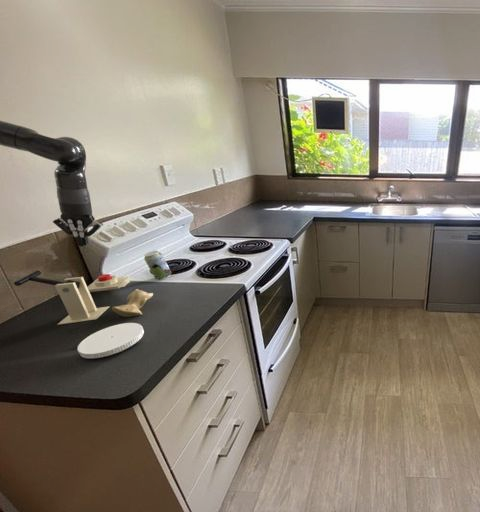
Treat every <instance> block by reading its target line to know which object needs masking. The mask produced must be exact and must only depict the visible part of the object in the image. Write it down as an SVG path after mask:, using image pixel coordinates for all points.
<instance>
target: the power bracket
mask: <svg viewBox="0 0 480 512" xmlns="http://www.w3.org/2000/svg"><path fill="white" fill-rule="evenodd" d="M68 280H70V281H75V282H80V285H79V289H78V288H77V286H76V284H75V282H72V283H63V284H57V285H54V287H55V289H56V291H57V293H58V296H59V297H60V299H61V301H62V303H63V306H64V308H65V310H66V312H67V314H68V315H67V316H66V317H64V318H63V319H62V320H60V322H59V323H57V324H56V325H57V326H58V325H65V324H72V323H79V322H88V321H93V320H94V321H95V320H97V319H99V317H101V316H102V315H103V314H104V313H105V312H106V311H107V310H108V309H109V308H110V306H102V307H101V306H100V307H97V306H96V304H95V301H94V299H93V297H92V295H91V292H89V290H88V288H87V287H88V285H87V283H86V281H85V279H84V276H77V277H68V278H67V277H66V278H65V279H64V278H63V282H67V281H68Z"/></svg>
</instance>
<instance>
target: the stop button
mask: <svg viewBox="0 0 480 512" xmlns="http://www.w3.org/2000/svg"><path fill="white" fill-rule="evenodd" d="M97 279H99V281H100V282H101V281H107V280H110V279H112V278H111V274H110V273H104V274H100V275H98V276H97Z"/></svg>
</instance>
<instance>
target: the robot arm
mask: <svg viewBox="0 0 480 512" xmlns="http://www.w3.org/2000/svg"><path fill="white" fill-rule="evenodd" d="M0 146H2V147H7V148H10V149H14V150H19V151H24V152H28V153H31V154H33V155H35V156H38V157H40V158H44V159H46V160H48V161H49V160H50V161H52V162H56V163H57V167H56V168H55V169H54V173H53V174H54V175H53V176H54V180H55V184H56V185H55V186H56V197H57V202H58V206H59V210H60V213H61V214H60V216H59V217H58V218H55V219H54V220H52V223H53V224H54V225H56V226H57V228H59V229H60V230H62V231H63V232H64V233H65V234H66V235H68V236H73V237H74V239H75V244H76V245H77V246H78V247H84V248H85V247H86V246H87V245H89V237H91V236H93V235H94V234H95V233H96V232H98V230H100V229H101V228H102V227H103V226H104V223H103V222H101V221H100V222H98V221H97V220H96V219H95V217H94V215H93V208H92V203H91V202H92V201H91V196H90V190H89V188H88V184H87V178H86V167H87V151H86V149H85V147H84V145H83V144H82V143H81V142H80V141H79V140H78V139H76V138H74V137H70V136H60V137H50V136H47V135H43V134H41V133H39V132H38V131H36V130H34V129H32V128H29V127H26V126H23V125H19V124H15V123H11V122H8V121H4V120H0ZM90 226H91V227H92V228H90V230H89V227H90Z"/></svg>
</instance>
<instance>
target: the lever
mask: <svg viewBox="0 0 480 512" xmlns="http://www.w3.org/2000/svg"><path fill="white" fill-rule="evenodd" d="M41 274H42V271H40V270H35V271H33V272H31V273H29V274H27V275H25V276H23V277H21V278H20V279H17V280H16V281H14V282H13V285H14V286H16V287H19V286H22V285H24V284H25V283H27V282H34V283H35V282H36V283H41V284H46V285H51V286H55V285H57V284H63V283H72V282H75V281H70V280H68V281H67V282H64V281H59V280H54V279H49V278H43V277H39V276H40V275H41ZM75 284H76V286H77V288H78V289H79V285H80V282H75Z"/></svg>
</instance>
